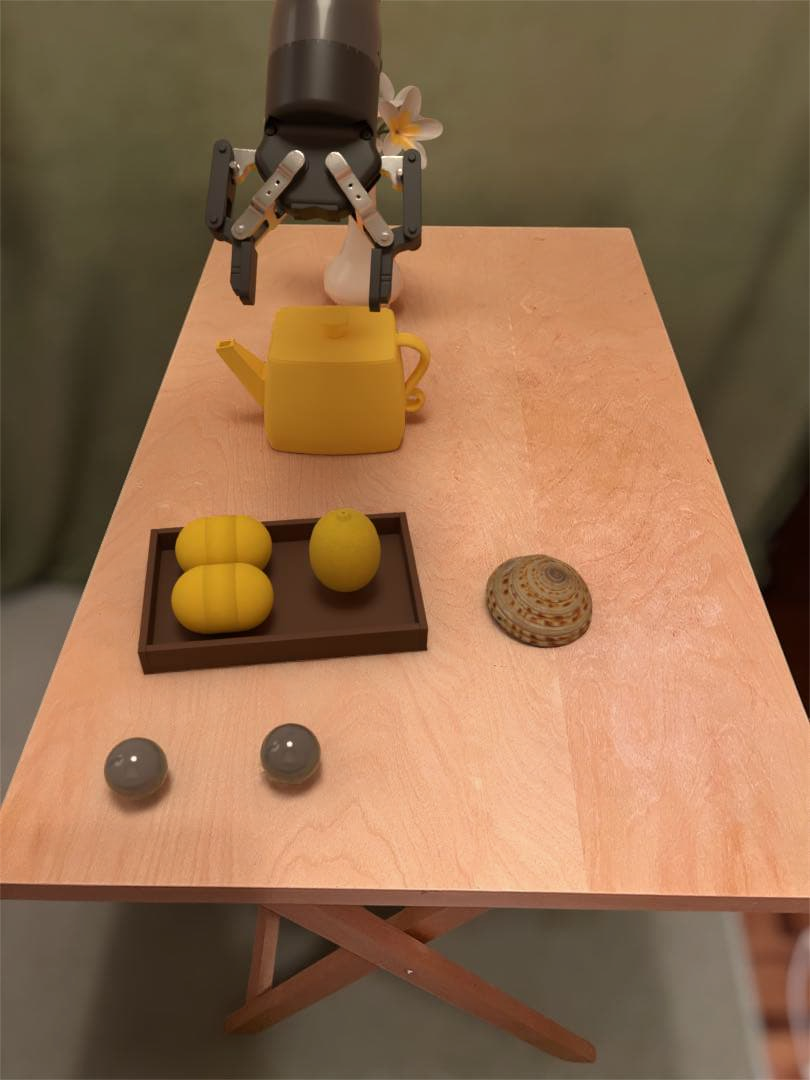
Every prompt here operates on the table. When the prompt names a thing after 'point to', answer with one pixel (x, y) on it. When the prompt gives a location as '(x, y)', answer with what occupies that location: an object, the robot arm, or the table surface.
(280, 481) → the table surface
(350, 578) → the lemon
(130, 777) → the glossy gray ball
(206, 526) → the yellow banded capsule
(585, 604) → the seashell
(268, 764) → the stone right
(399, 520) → the tray
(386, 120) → the flower vase
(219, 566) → the yellow ribbed oblong body
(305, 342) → the teapot
